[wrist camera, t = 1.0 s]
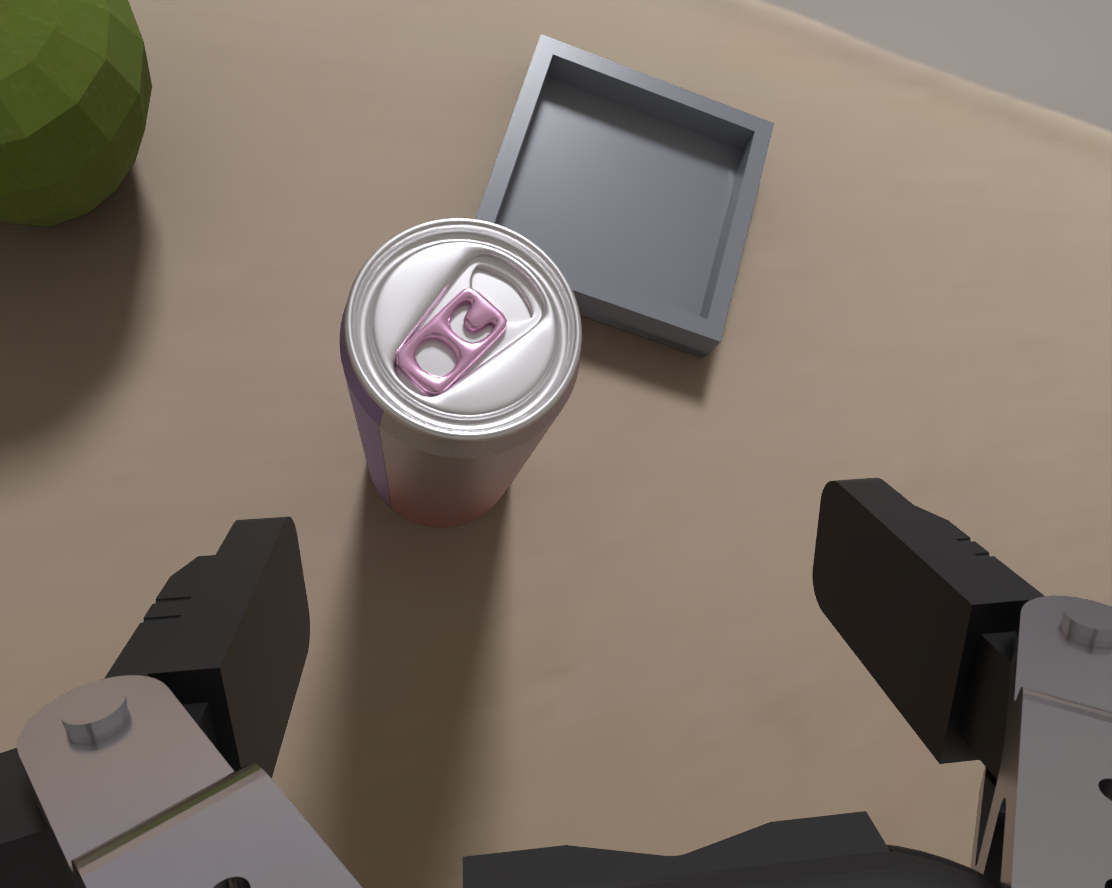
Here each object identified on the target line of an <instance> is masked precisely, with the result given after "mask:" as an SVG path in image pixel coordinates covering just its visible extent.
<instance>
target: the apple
mask: <svg viewBox="0 0 1112 888" xmlns="http://www.w3.org/2000/svg"><path fill="white" fill-rule="evenodd" d="M151 90H152V84H151V79H150V73H149V68H148V63H147V57H146V52H145V46H144V42H143V39H142V36H141V34H140V31H139V28H138V26H137V23H136V20H135V18H134V15H133V12H132V10H131V7H130V5H129V2H128V0H0V222H2V223H7V224H18V225H36V226H54V225H57V224H59V223H62V222H65V221H68V220H71V219H73V218H76V217H79V216H82V215H84V214H87V213H89V212H91V211H92V210H93V209H94V208H95V207H97V206H98V205H99V204H100V203H101V202H102V201H104V200H105V199H106V198H107V197H108V196H110V195H111V194H112V193H113V192H114V191H116V190H117V188H118V187H119V185H120V184H121V182H122V181H123V179H124V178H125V176H126V175H127V173H128V172H129V170H130V169H131V167H132V166H133V164H134V163H135V160H136V157H137V154H138V150H139V147H140V144H141V141H142V137H143V134H144V131H145V125H146V119H147V113H148V108H149V102H150V96H151Z"/></svg>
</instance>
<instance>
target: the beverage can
mask: <svg viewBox="0 0 1112 888" xmlns="http://www.w3.org/2000/svg"><path fill="white" fill-rule="evenodd" d="M581 343H582V326H581V317H580V312H579V308H578V304H577V301H576V298H575V295H574V293H573V290H572V288H571V286H570V284H569V282H568V280H567V279H566V277H565V275H564V274H563V272H562V271H561V269H560V268H559V267H558V266H557V264H556V263H555V262H554V261H553V260H552V259H551V257H550V256H549V255H548V254H547V253H546V252H545V251H543V250H542V249H541V248H540V247H539V246H538V245H536V244H535V243H534V242H532V241H531V240H529V239H528V238H526V237H525V236H523V235H521V234H519V233H517V232H516V231H514V230H511V229H509V228H507V227H504V226H502V225H499V224H496V223H492V222H489V221H484V220H479V219H471V218H445V219H438V220H432V221H428V222H424V223H421V224H418V225H415V226H413V227H410V228H408V229H406V230H404V231H402V232H400V233H398V234H396V235H395V236H393V237H392V238H390V239H389V240H387V241H386V242H385V243H384V244H382V245H381V246H380V247H379V248H378V249H377V250H376V251H375V252H374V253H373V254H372V255H371V256H370V257H369V258H368V259H367V261H366V262H365V263H364V265H363V266H362V268H361V269H360V271H359V273H358V274H357V276H356V278H355V280H354V282H353V285H352V287H351V290H350V293H349V296H348V300H347V304H346V306H345V309H344V313H343V317H342V321H341V328H340V354H341V361H342V365H343V369H344V373H345V377H346V381H347V385H348V389H349V393H350V397H351V401H352V405H353V409H354V413H355V417H356V421H357V425H358V429H359V433H360V437H361V441H362V445H363V449H364V453H365V457H366V461H367V465H368V469H369V473H370V476H371V479H372V482H373V484H374V486H375V488H376V490H377V492H378V493H379V495H380V496H381V497H382V499H383V500H384V501H385V502H386V504H387V505H388V506H390V507H391V508H392V509H393V510H394V511H395V512H397V513H398V514H399V515H401V516H403V517H404V518H406V519H408V520H410V521H413V522H415V523H418V524H421V525H426V526H431V527H452V526H458V525H462V524H465V523H468V522H470V521H473V520H475V519H477V518H479V517H480V516H482V515H484V514H485V513H486V512H488V511H489V510H490V509H491V508H492V507H493V506H494V505H495V504H496V503H497V502H498V501H499V500H500V499H501V497H502V496H503V494H504V493H505V491H506V490H507V489H508V487H509V486H510V484H511V483H512V481H513V480H514V478H515V477H516V476H517V474H518V473H519V471H520V470H521V468H522V467H523V465H524V464H525V462H526V461H527V460H528V458H529V457H530V455H531V454H532V452H533V451H534V449H535V448H536V446H537V445H538V444H539V442H540V441H541V439H542V438H543V436H544V435H545V433H546V432H547V431H548V429H549V428H550V426H551V425H552V423H553V422H554V420H555V419H556V417H557V416H558V415H559V413H560V412H561V410H562V409H563V407H564V406H565V404H566V402H567V401H568V399H569V397H570V395H571V393H572V390H573V388H574V385H575V382H576V379H577V375H578V370H579V365H580V353H581Z"/></svg>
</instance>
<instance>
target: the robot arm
mask: <svg viewBox="0 0 1112 888" xmlns="http://www.w3.org/2000/svg"><path fill="white" fill-rule="evenodd" d="M813 586H814V592H815V596H816V599H817V602H818V604H819V606H820V608H821V610H822V611H823V613H824V614H825V615H826V617H827V618H828V619H829V621H830V622H831V623H832V625H833V626H834V627H835V628H836V630H837V631H838V632H839V634H840V635H841V636H842V638H843V639H844V640H845V641H846V643H847V644H848V645H849V647H850V648H851V649H852V651H853V652H854V653H855V654H856V656H857V657H858V658H859V660H860V661H861V662H862V664H863V665H864V666H865V667H866V669H867V670H868V671H869V673H870V674H871V675H872V677H873V678H874V679H875V680H876V682H877V683H878V684H879V686H880V687H881V688H882V690H883V691H884V692H885V693H886V695H887V696H888V697H889V699H890V700H891V701H892V703H893V704H894V705H895V706H896V708H897V709H898V710H899V712H900V713H901V714H902V716H903V717H904V718H905V719H906V721H907V722H908V723H909V725H910V726H911V727H912V729H913V730H914V731H915V732H916V734H917V735H918V736H919V738H920V739H921V740H922V742H923V743H924V744H925V745H926V747H927V748H928V749H929V751H930V752H931V753H932V755H933V756H934V757H935V758H936V760H937V761H938V762H939V764H944V763H953V762H962V761H972V760H981V761H982V763H983V764H984V765H985V769H984V773H983V778H982V782H981V786H980V791H979V800H978V809H977V817H976V826H975V834H974V843H973V851H972V860H971V868H969V867H966V866H964V865H961V864H959V863H956V862H954V861H951V860H949V859H946V858H943V857H939V856H936V855H933V854H930V853H926V852H923V851H919V850H914V849H909V848H904V847H900V846H893V845H886V844H885V842H884V840H883V839H882V837H881V835H880V834H879V832H878V830H877V829H876V827H875V825H874V824H873V822H872V821H871V819H870V817H869V816H868V814H867V812H866V811H864V812H855V813H846V814H837V815H829V816H820V817H811V818H802V819H793V820H784V821H776V822H770V823H767V824H764V825H762V826H759V827H756V828H754V829H751V830H748V831H746V832H743V833H740V834H738V835H735V836H732V837H730V838H727V839H724V840H722V841H719V842H716V843H714V844H711V845H708V846H706V847H703V848H700V849H698V850H695V851H692V852H690V853H687V854H683V855H679V856H661V855H652V854H642V853H633V852H624V851H614V850H605V849H596V848H587V847H577V846H568V845H564V846H555V847H546V848H537V849H528V850H520V851H511V852H502V853H493V854H484V855H475V856H467V857H463V888H1112V607H1111V606H1108V605H1105V604H1102V603H1099V602H1095V601H1091V600H1088V599H1082V598H1077V597H1069V596H1044V595H1043V594H1041V593H1040V592H1039V591H1038V590H1036V589H1035V588H1034V587H1032V586H1031V585H1030V584H1029V583H1027V582H1026V581H1025V580H1023V579H1022V578H1021V577H1020V576H1018V575H1017V574H1016V573H1015V572H1013V571H1012V570H1011V569H1009V568H1008V567H1007V566H1006V565H1004V564H1003V563H1002V562H1000V561H999V560H998V559H997V558H995V557H994V556H991V557H990V556H989V552H988V551H986V550H985V549H984V548H983V547H981V546H980V545H979V544H977V543H976V542H975V541H974V542H971V541H970V537H969V536H967V535H966V534H965V533H963V532H962V531H961V530H960V529H958V528H957V527H956V526H954V525H953V524H952V523H951V522H949V521H948V520H946V519H944V518H942V517H939V516H937V515H935V514H933V513H930V512H928V511H926V510H924V509H921V508H919V507H917V506H914V505H913V504H912V503H911V502H909V501H908V500H907V499H906V498H904V497H903V496H902V495H901V494H899V493H898V492H897V491H896V490H894V489H893V488H892V487H891V486H890V485H888V484H887V483H886V482H885V481H883V480H882V479H880V478H867V479H852V480H837V481H830V482H828V483H827V484H826V485H825V487H824V489H823V492H822V496H821V503H820V512H819V520H818V529H817V538H816V546H815V555H814V564H813ZM309 639H310V618H309V608H308V602H307V595H306V589H305V583H304V576H303V570H302V563H301V557H300V551H299V544H298V538H297V532H296V528H295V524H294V522H293V520H292V518H291V517H277V518H262V519H247V520H237V521H235V522H234V524H233V526H232V527H231V529H230V531H229V532H228V534H227V536H226V538H225V539H224V541H223V543H222V545H221V546H220V548H219V550H218V552H217V553H216V555H211V556H198V557H197V558H195V559H194V560H193V561H191V562H190V563H188V564H187V565H186V566H184V567H183V568H182V569H180V570H179V571H177V572H176V573H175V574H173V575H172V576H171V577H170V578H169V579H168V581H167V583H166V584H165V586H164V587H163V589H162V590H161V592H160V593H159V595H158V596H157V598H156V604H152V606H151V607H150V609H149V610H148V612H147V613H146V615H145V616H144V622H143V623H140V624H139V626H138V627H137V629H136V630H135V632H134V633H133V635H132V637H131V638H130V640H129V641H128V643H127V644H126V646H125V647H124V649H123V650H122V652H121V654H120V655H119V657H118V658H117V660H116V661H115V663H114V664H113V666H112V667H111V669H110V671H109V672H108V674H107V675H106V677H105V678H104V679H101V680H98V681H95V682H91V683H88V684H86V685H83V686H80V687H78V688H75V689H73V690H71V691H69V692H67V693H65V694H63V695H61V696H60V697H58V698H56V699H54V700H53V701H51V702H50V703H49V704H47V705H46V706H44V707H43V708H42V709H41V710H39V711H38V712H37V713H36V714H35V715H34V716H33V717H32V718H31V719H30V720H29V721H28V722H27V723H26V725H25V726H24V728H23V729H22V731H21V733H20V735H19V738H18V742H17V748H15V749H12V750H9V751H6V752H3V753H0V888H363V887H362V886H361V885H360V884H359V883H358V881H357V880H356V879H355V878H354V877H353V876H352V874H351V873H350V872H349V871H348V870H347V868H346V867H345V866H344V865H343V864H342V862H341V861H340V860H339V859H338V858H337V856H336V855H335V854H334V853H333V852H332V850H331V849H330V848H329V847H328V846H327V844H326V843H325V842H324V841H323V840H322V839H321V837H320V836H319V835H318V834H317V833H316V831H315V830H314V829H313V828H312V827H311V825H310V824H309V823H308V822H307V821H306V819H305V818H304V817H303V816H302V815H301V813H300V812H299V811H298V810H297V809H296V807H295V806H294V805H293V804H292V803H291V802H290V800H289V799H288V798H287V797H286V796H285V794H284V793H283V792H282V791H281V790H280V788H279V787H278V786H277V785H276V784H275V782H274V781H273V780H272V775H273V772H274V768H275V765H276V762H277V758H278V755H279V751H280V748H281V744H282V741H283V737H284V734H285V730H286V727H287V723H288V720H289V716H290V713H291V709H292V706H293V702H294V699H295V695H296V692H297V688H298V685H299V681H300V678H301V674H302V671H303V667H304V664H305V660H306V657H307V653H308V648H309Z"/></svg>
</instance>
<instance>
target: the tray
mask: <svg viewBox="0 0 1112 888" xmlns="http://www.w3.org/2000/svg"><path fill="white" fill-rule="evenodd" d="M773 125H774V123H772V122H769V121H767V120H764V119H761V118H759V117H756V116H754V115H751V114H748V113H746V112H743V111H741V110H738V109H735V108H733V107H730V106H727V105H725V104H722V103H720V102H717V101H714V100H712V99H709V98H707V97H704V96H701V95H699V94H696V93H694V92H691V91H688V90H686V89H683V88H681V87H678V86H675V85H673V84H670V83H667V82H665V81H662V80H660V79H657V78H654V77H652V76H649V75H647V74H644V73H641V72H639V71H636V70H634V69H631V68H628V67H626V66H623V65H621V64H618V63H615V62H613V61H610V60H608V59H605V58H602V57H600V56H597V55H594V54H592V53H589V52H587V51H584V50H581V49H579V48H576V47H574V46H571V45H568V44H566V43H563V42H561V41H558V40H555V39H553V38H550V37H548V36H545V35H542V34H541V36H540V39H539V41H538V44H537V47H536V50H535V53H534V56H533V58H532V61H531V64H530V67H529V70H528V72H527V75H526V78H525V81H524V84H523V86H522V89H521V92H520V95H519V98H518V100H517V103H516V106H515V109H514V112H513V115H512V117H511V120H510V123H509V126H508V129H507V131H506V134H505V137H504V140H503V143H502V145H501V148H500V151H499V154H498V157H497V160H496V162H495V165H494V168H493V171H492V174H491V176H490V179H489V182H488V185H487V188H486V190H485V193H484V196H483V199H482V202H481V204H480V207H479V210H478V213H477V216H476V219H479V220H484V221H489V222H492V223H496V224H499V225H502V226H504V227H507V228H509V229H511V230H514V231H516V232H517V233H519V234H521V235H523V236H525V237H526V238H528V239H529V240H531V241H532V242H534V243H535V244H536V245H538V246H539V247H540V248H541V249H542V250H543V251H545V252H546V253H547V254H548V255H549V256H550V257H551V259H552V260H553V261H554V262H555V263H556V264H557V266H558V267H559V268H560V269H561V271H562V272H563V274H564V275H565V277H566V279H567V280H568V282H569V284H570V286H571V288H572V290H573V293H574V295H575V298H576V301H577V304H578V308H579V312H580V315H581V316H584V317H587V318H590V319H593V320H596V321H599V322H602V323H604V324H607V325H610V326H613V327H616V328H619V329H622V330H625V331H627V332H630V333H633V334H636V335H639V336H642V337H645V338H648V339H651V340H653V341H656V342H659V343H662V344H665V345H668V346H671V347H674V348H676V349H679V350H682V351H685V352H688V353H691V354H694V355H697V356H700V357H702V358H704V357H705V356H706V355H707V354H708V353H709V352H710V351H711V350H712V349H713V348H714V347H715V346H716V345H718V344H719V343H720V342H721V338H722V334H723V330H724V326H725V322H726V317H727V313H728V309H729V305H730V301H731V297H732V293H733V289H734V285H735V281H736V277H737V272H738V268H739V264H740V260H741V256H742V252H743V248H744V244H745V240H746V236H747V232H748V228H749V223H750V219H751V215H752V211H753V207H754V203H755V199H756V195H757V191H758V187H759V183H760V178H761V174H762V170H763V166H764V162H765V158H766V154H767V150H768V146H769V142H770V138H771V133H772V129H773Z"/></svg>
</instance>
